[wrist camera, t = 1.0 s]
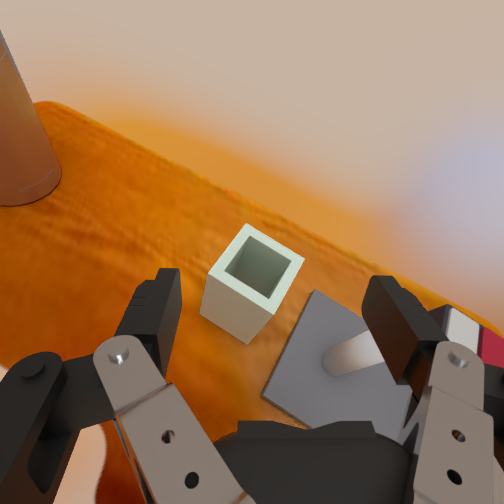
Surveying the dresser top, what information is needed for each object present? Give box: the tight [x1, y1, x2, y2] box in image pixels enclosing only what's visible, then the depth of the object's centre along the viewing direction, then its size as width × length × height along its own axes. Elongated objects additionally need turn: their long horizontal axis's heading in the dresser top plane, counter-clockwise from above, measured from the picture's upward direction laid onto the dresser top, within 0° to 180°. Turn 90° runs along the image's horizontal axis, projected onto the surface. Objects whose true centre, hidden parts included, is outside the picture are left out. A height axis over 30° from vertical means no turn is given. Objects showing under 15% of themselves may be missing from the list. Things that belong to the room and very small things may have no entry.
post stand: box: [260, 289, 412, 441], centre depth 27 cm, size 14×13×12 cm
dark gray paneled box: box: [428, 304, 504, 368], centre depth 33 cm, size 11×4×15 cm
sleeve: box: [199, 223, 305, 345], centre depth 29 cm, size 6×6×10 cm
